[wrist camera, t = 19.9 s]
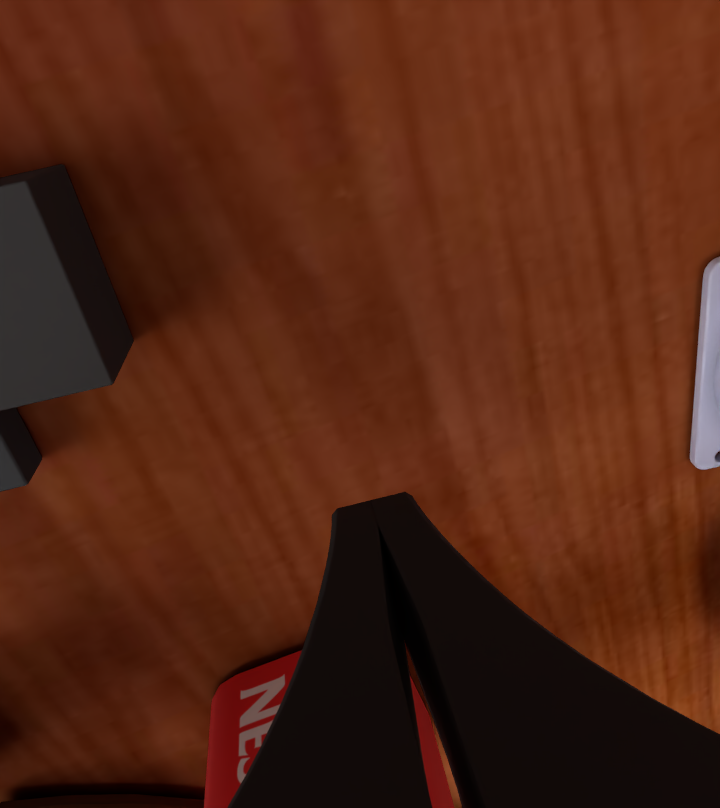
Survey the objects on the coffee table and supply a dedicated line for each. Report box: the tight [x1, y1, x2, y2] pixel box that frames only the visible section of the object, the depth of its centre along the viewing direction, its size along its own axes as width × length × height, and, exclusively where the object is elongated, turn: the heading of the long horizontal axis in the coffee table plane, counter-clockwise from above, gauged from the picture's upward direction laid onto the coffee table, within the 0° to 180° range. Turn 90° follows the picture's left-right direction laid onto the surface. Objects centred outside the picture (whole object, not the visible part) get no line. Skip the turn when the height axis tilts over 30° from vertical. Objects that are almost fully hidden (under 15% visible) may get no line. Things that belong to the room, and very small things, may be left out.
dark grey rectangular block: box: [0, 164, 133, 411], centre depth 16 cm, size 4×5×3 cm
